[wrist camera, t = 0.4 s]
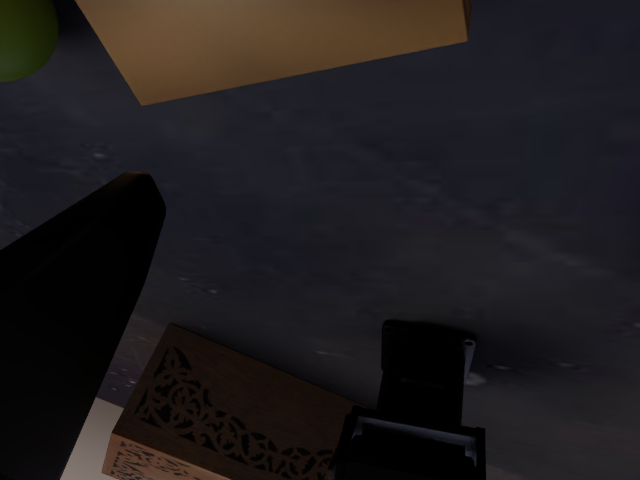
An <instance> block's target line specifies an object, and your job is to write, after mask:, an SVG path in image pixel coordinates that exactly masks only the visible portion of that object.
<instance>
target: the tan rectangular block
mask: <svg viewBox="0 0 640 480" xmlns="http://www.w3.org/2000/svg"><path fill="white" fill-rule="evenodd" d="M75 1H76V3H77V4H78V6H79V7H80V9H81V10H82V12H83V14H84V15H85V17H86V18H87V20H88V22H89V23H90V25H91V26H92V28H93V29H94V31H95V33H96V34H97V36H98V37H99V39H100V41H101V42H102V44H103V45H104V47H105V49H106V50H107V52H108V53H109V55H110V56H111V58H112V60H113V61H114V63H115V64H116V66H117V68H118V69H119V71H120V72H121V74H122V75H123V77H124V79H125V80H126V82H127V83H128V85H129V87H130V88H131V90H132V91H133V93H134V94H135V96H136V98H137V99H138V101H139V102H140V104H141V105H142V106H145V105H150V104H155V103H160V102H165V101H170V100H175V99H180V98H185V97H190V96H195V95H200V94H205V93H210V92H215V91H220V90H225V89H230V88H235V87H240V86H245V85H250V84H255V83H260V82H265V81H270V80H275V79H280V78H285V77H291V76H296V75H301V74H306V73H311V72H316V71H321V70H326V69H331V68H336V67H341V66H346V65H351V64H356V63H361V62H366V61H371V60H376V59H381V58H386V57H391V56H396V55H401V54H406V53H411V52H416V51H421V50H426V49H431V48H436V47H441V46H446V45H452V44H457V43H462V42H467V41H468V38H469V28H470V19H471V10H472V1H473V0H75Z"/></svg>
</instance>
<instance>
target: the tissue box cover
mask: <svg viewBox="0 0 640 480" xmlns="http://www.w3.org/2000/svg"><path fill="white" fill-rule="evenodd" d="M353 405H359V406H361V407H362V408H367V407H364V406H362V405H360V404H357V403H355V402H353V401H350V400H348V399H346V398H343V397H341V396H339V395H336V394H334V393H332V392H329V391H327V390H325V389H322V388H320V387H317V386H315V385H313V384H310V383H308V382H306V381H303V380H301V379H299V378H296V377H294V376H292V375H289V374H287V373H285V372H282V371H280V370H278V369H275V368H273V367H271V366H268V365H266V364H264V363H261V362H259V361H257V360H254V359H252V358H250V357H247V356H245V355H243V354H240V353H238V352H236V351H233V350H231V349H229V348H226V347H224V346H222V345H219V344H217V343H215V342H212V341H210V340H208V339H205V338H203V337H201V336H198V335H196V334H194V333H191V332H189V331H187V330H184V329H182V328H180V327H177V326H175V325H173V324H170V323H169V324H168V326H167V328H166V330H165V332H164V334H163V336H162V337H161V339H160V341H159V343H158V345H157V347H156V349H155V351H154V353H153V355H152V357H151V358H150V360H149V362H148V364H147V366H146V368H145V370H144V372H143V374H142V376H141V378H140V379H139V381H138V383H137V385H136V387H135V389H134V391H133V393H132V395H131V397H130V398H129V400H128V402H127V404H126V406H125V408H124V410H123V412H122V414H121V416H120V418H119V420H118V421H117V423H116V425H115V427H114V429H113V431H112V433H111V437H110V441H109V445H108V449H107V453H106V457H105V461H104V464H103V469H102V473H103V474H106V475H109V476H111V477H114V478H116V479H119V480H330V479H329V477H328V475H327V470H328V466H329V463H330V461H331V458H332V456H333V454H334V451H335V449H336V447H337V444H338V442H339V439H340V436H341V432H342V428H343V423H344V419H345V415H347V414H350V413H351V410H352V407H353ZM367 409H369V408H367Z"/></svg>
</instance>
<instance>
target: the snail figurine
mask: <svg viewBox="0 0 640 480" xmlns="http://www.w3.org/2000/svg"><path fill="white" fill-rule="evenodd" d="M58 32H59V26H58V17H57V13H56V9H55V6H54V3H53V1H52V0H0V82H7V81H14V80H18V79H22V78H25V77H27V76H29V75H31V74H33V73H35V72H36V71H38V70H39V69H40V68H42V67H43V66H44V65H45V64H46V62H47V61H48V60H49V59H50V57H51V55H52V54H53V52H54V50H55V47H56V44H57V40H58Z"/></svg>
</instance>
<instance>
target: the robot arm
mask: <svg viewBox="0 0 640 480" xmlns="http://www.w3.org/2000/svg"><path fill="white" fill-rule="evenodd" d="M165 215H166V206H165V203H164V200H163V198H162V196H161V194H160V192H159V190H158V188H157V186H156V184H155V182H154V180H153V178H152V177H151V176H150V175H149V174H148V173H145V172H133V171H129V172H125V173H123V174H122V175H120V176H118V177H117V178H115V179H114V180H112V181H110V182H109V183H107V184H106V185H104V186H102V187H101V188H99V189H98V190H96V191H94V192H93V193H91V194H90V195H88V196H86V197H85V198H83V199H82V200H80V201H78V202H77V203H75V204H74V205H72V206H70V207H69V208H67V209H66V210H64V211H62V212H61V213H59V214H58V215H56V216H54V217H53V218H51V219H50V220H48V221H46V222H45V223H43V224H42V225H40V226H38V227H37V228H35V229H34V230H32V231H30V232H29V233H27V234H26V235H24V236H22V237H21V238H19V239H18V240H16V241H14V242H13V243H11V244H10V245H8V246H6V247H5V248H3V249H2V250H0V480H60V478H61V476H62V474H63V471H64V469H65V467H66V464H67V462H68V460H69V457H70V455H71V452H72V451H73V448H74V446H75V444H76V441H77V439H78V437H79V434H80V432H81V430H82V427H83V425H84V423H85V420H86V418H87V416H88V414H89V411H90V409H91V407H92V404H93V402H94V400H95V397H96V395H97V393H98V390H99V388H100V386H101V383H102V381H103V379H104V377H105V374H106V372H107V370H108V367H109V365H110V363H111V360H112V358H113V356H114V353H115V351H116V349H117V346H118V344H119V342H120V340H121V337H122V335H123V333H124V330H125V328H126V326H127V323H128V321H129V319H130V316H131V314H132V312H133V310H134V307H135V305H136V303H137V300H138V298H139V296H140V293H141V291H142V288H143V286H144V283H145V280H146V277H147V274H148V271H149V268H150V265H151V261H152V258H153V255H154V252H155V248H156V245H157V242H158V239H159V235H160V232H161V229H162V226H163V222H164V219H165ZM475 347H476V337H475V336H473V335H470V334H464V333H458V332H452V331H445V330H439V329H433V328H427V327H420V326H414V325H408V324H401V323H395V322H384V323H383V327H382V357H381V368H382V370H383V375H382V380H381V386H380V392H379V397H378V403H377V408H376V410H373V409H367V408H362V407H361V406H359V405H353V407H352V410H351V413H350V414H347V415H345V419H344V423H343V428H342V432H341V436H340V439H339V442H338V444H337V447H336V449H335V451H334V454H333V456H332V458H331V461H330V463H329V466H328V470H327V475H328V477H329V479H330V480H486V458H485V428H480V427H476V428H472V427H466V426H461V420H462V404H463V389H464V384H465V383H466V380H467V377H468V373H469V369H470V366H471V362H472V358H473V354H474V351H475Z"/></svg>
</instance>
